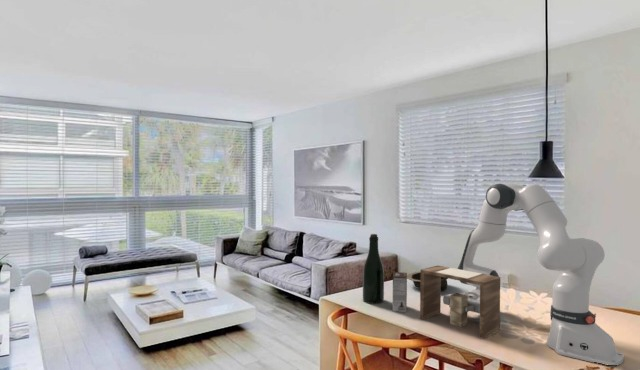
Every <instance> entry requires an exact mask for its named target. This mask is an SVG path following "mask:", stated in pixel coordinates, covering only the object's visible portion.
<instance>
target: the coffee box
mask: <svg viewBox="0 0 640 370" xmlns="http://www.w3.org/2000/svg"><path fill="white" fill-rule="evenodd" d="M407 275H408V273H407V272H396V271H393V273H392V312H396V311H399V313H406V312H407V305H408V304H407V299H408V297H407V296H408V289H407V288H408V279H407Z"/></svg>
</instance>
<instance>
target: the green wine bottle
mask: <svg viewBox="0 0 640 370" xmlns="http://www.w3.org/2000/svg"><path fill="white" fill-rule="evenodd" d="M368 239H369V241H368V242H369V245H368V246H369V247H368V253H367V257H366V260H365V262H364V265H363V273H362V300H363V302H366V303H369V304H382V302H384V301H385V273H384V265H383V261H382V260H381V256H380V253H379V237H378V234H377V233H370V236H369V238H368Z"/></svg>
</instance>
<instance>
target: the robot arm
mask: <svg viewBox="0 0 640 370" xmlns="http://www.w3.org/2000/svg"><path fill="white" fill-rule="evenodd" d="M511 211H514V212H515V211H516V212H517V211H524V213H525V214H526V216H527V218H528V220H529V222H531V224H532V226H533V228H534V229H535V231H536V233H537V236H538V239H539V247H538V250H537V254H536V255H537V259H538V262H539V264H540V265H541V266H542V267H544V268H545V269H547V270H550V271H556V272H560V274H559V276H558V277H557V279H556V280H554V282H553V284H552V304H551V305H550V328H549V329H550V330H549V333H548V338H547V340H546V345H547V346H548V347H550V348H551V349H553V350H554V351H555V352H556V353H557V354H558V355H561V356H565V357H569V358H574V359H577V360H582V361H586V362H591V363H594V362H597V363H596V364H598V363H604V364H608V365H617V366H619V365H621V364H622V363H623V362H624V359H625V358H624V356H625V355H624V354H623V353H622V352H621V351H619V350H617V349H616V345H615V344H616V343H615V340H614V339H613V337H612V335H610V334H609V333H608V332H606V331H605V330H604V329H603V328H601V326H599V325H598V324H597V323H596V317H597V313H593V312H591V310H589V309H590V307H589V306H590V289H591V285H592V282H593V279H594V276H595V273H596V271H597V269H598V268H599V266H600V265H601V263H603V261H604V259H605V250H604V247H603V246H602V244H600V243H599V242H597V241H595V240H592V239H589V238H584V237H583V238H582V237H581V238H580V237H579V238H577V237H576V238H571V237H570V236H569V235H568V233H567V229H566V227H567V225H568V219H567V217H566V215H565V214H564V212H563V211H562V210H561V208H560V207H559V205H558V204H557V203H556V201H555V199H554V198H553V197H552V196H551V195H550V194H549V193H548V191H546V190H545V188H544V187H543V186H541V185H540V184H537V183H531V184H527V185H526V184H518V183H496V184H493V185H490V186H489V187H488V189H487V190H486V193H485V199H484V200H483V203H482V204H481V209H480V213H479V219H478V225H477V226H476V228H475V229H473V230H471V231H470V233H469V234H468V237H467V240H466V244H465V246H464V250H463V253H462V257H461V261H460V263H459V264H458V267H457V269H460V270H465V271H471V272H476V273H481V274H486V275H491V276H497V277H500V275H499V273H498V272H497V271H496V270H495V269H491V268H489V267H486V266H481V265H477V264H476V263H474V258H475V255H476V251H477V249H478V247H479V246H480V245H481V244H487V243H493V242H496V241H498V240H501V239H502V238H503V237H504V235H505V232H506V229H507V219H508V214H509V213H510V212H511ZM459 282H460V283H461V284H464V285H469V286H472V287H475V289H472V290H469V291H467V292H465V293H464V295H468V307H467V306H465V307H464V308H463V309H464V310H463V311H465V312H467V313H469V312H471V313H476V314H480V285H477V284H473V283H468V282H463V281H459ZM452 294H453V293H449V294H445V295H443V296H442V297H443V298H442V301H443V302H442V303H443V304H444V305H446V306H449V308H450V295H452Z"/></svg>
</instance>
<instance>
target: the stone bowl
mask: <svg viewBox="0 0 640 370" xmlns="http://www.w3.org/2000/svg"><path fill="white" fill-rule="evenodd" d="M420 274H421V270H418V271H414V272H411V273H407V280H409V281H411V282H412V283H413V285H414V287H415V288H417V289H418V288H419V289H420ZM448 279H449V278H444V277H441V291H446V290H447V288H448Z"/></svg>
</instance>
